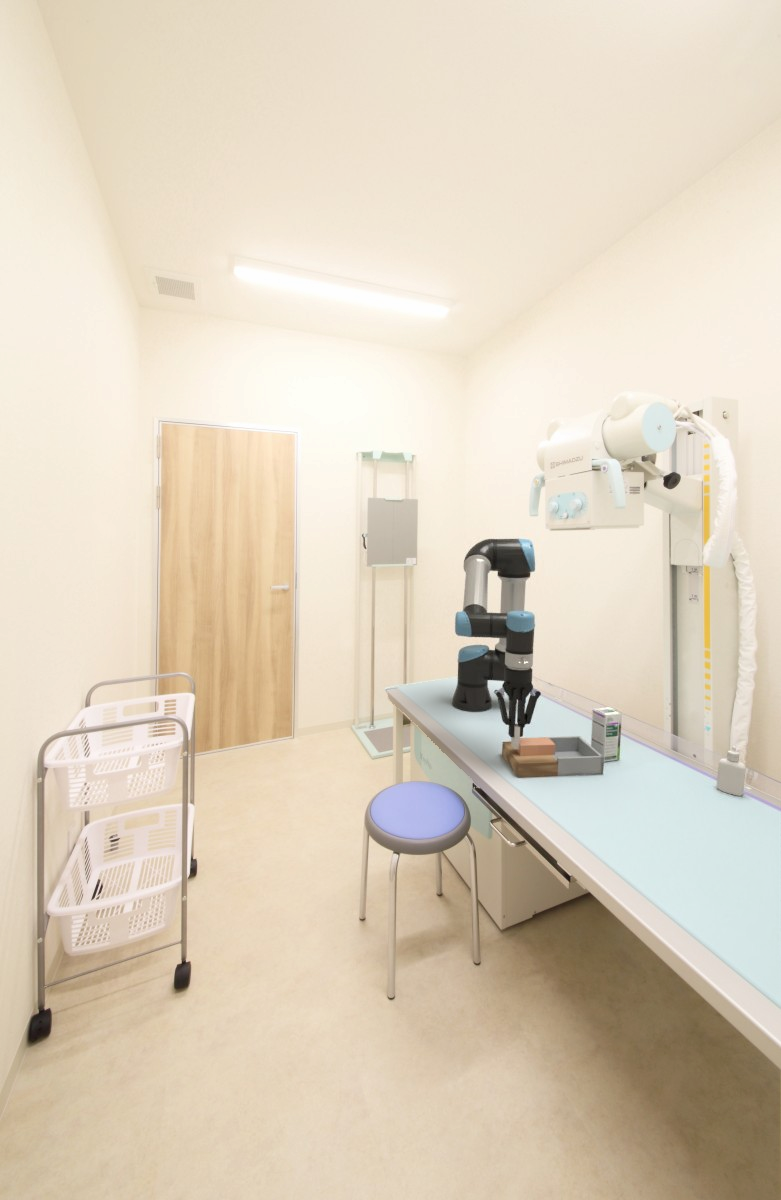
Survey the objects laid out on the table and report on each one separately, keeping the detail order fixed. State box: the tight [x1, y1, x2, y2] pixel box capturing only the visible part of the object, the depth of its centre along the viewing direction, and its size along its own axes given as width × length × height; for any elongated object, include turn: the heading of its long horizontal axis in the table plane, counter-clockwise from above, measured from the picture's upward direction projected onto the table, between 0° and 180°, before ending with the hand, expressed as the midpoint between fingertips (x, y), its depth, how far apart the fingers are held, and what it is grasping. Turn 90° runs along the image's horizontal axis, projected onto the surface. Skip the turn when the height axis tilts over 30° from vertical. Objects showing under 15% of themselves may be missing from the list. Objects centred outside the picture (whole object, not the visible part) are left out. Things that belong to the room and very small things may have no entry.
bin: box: [537, 735, 605, 777], centre depth 136 cm, size 14×13×5 cm
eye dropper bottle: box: [715, 745, 747, 797], centre depth 121 cm, size 4×6×12 cm
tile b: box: [531, 736, 555, 755], centre depth 135 cm, size 5×5×3 cm
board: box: [501, 740, 559, 779], centre depth 135 cm, size 14×11×4 cm
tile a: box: [516, 737, 538, 756], centre depth 135 cm, size 5×5×3 cm
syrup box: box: [590, 706, 623, 763], centre depth 140 cm, size 6×6×14 cm
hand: (515, 747), depth 135 cm, fingers closed
